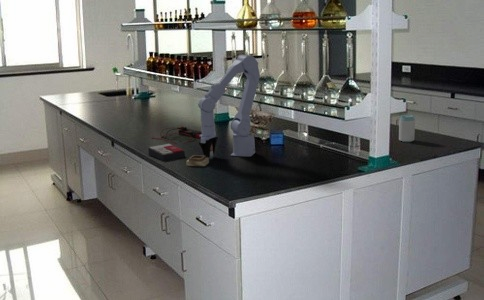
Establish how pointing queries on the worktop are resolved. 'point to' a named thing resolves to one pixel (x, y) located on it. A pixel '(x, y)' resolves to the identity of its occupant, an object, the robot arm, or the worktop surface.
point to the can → (406, 128)
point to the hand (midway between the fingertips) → (209, 155)
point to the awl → (211, 153)
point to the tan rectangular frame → (197, 160)
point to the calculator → (166, 152)
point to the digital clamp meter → (185, 132)
